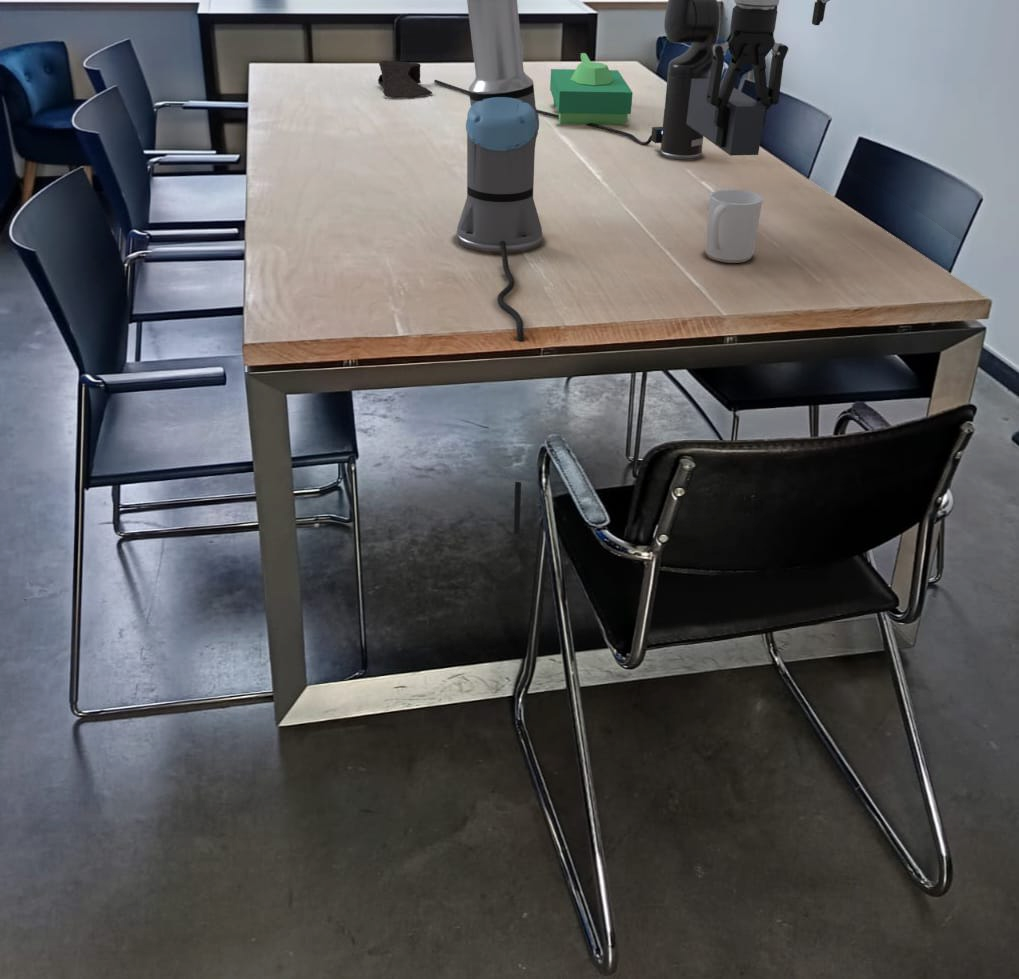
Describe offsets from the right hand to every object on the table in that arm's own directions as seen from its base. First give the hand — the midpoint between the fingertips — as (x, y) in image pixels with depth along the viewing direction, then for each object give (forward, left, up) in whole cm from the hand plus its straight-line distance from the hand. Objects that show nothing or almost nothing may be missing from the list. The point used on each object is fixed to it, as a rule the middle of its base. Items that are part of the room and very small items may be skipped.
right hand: (793, 24), depth 200 cm
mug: (+26, -22, -33) cm, 48 cm away
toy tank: (-84, -7, -33) cm, 90 cm away
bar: (+2, -13, -19) cm, 23 cm away
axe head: (-118, -48, -33) cm, 131 cm away
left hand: (+10, -14, -18) cm, 25 cm away
